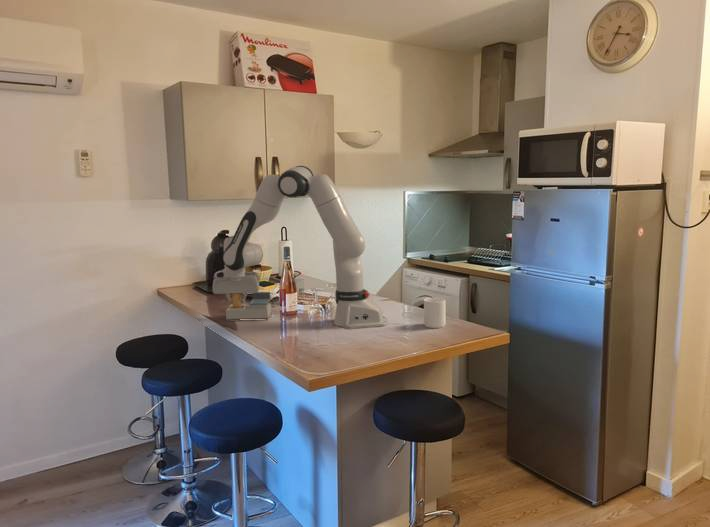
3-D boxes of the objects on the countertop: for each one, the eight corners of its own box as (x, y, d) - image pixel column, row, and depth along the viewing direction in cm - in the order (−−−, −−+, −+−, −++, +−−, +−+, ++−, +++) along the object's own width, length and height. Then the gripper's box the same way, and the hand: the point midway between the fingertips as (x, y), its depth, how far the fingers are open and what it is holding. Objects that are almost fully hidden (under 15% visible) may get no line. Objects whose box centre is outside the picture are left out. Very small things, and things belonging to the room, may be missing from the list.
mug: (453, 323, 222) (453, 297, 220) (438, 329, 212) (438, 303, 211) (435, 320, 227) (435, 295, 225) (419, 326, 218) (419, 300, 216)
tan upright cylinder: (242, 309, 242) (242, 292, 241) (241, 311, 238) (240, 294, 237) (234, 310, 242) (232, 292, 241) (232, 312, 238) (231, 294, 237)
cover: (270, 300, 251) (269, 291, 250) (267, 304, 241) (266, 296, 241) (253, 300, 251) (252, 292, 250) (249, 305, 241) (248, 296, 241)
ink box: (281, 304, 265) (280, 281, 263) (290, 301, 273) (288, 278, 271) (297, 305, 262) (296, 281, 260) (305, 302, 270) (304, 278, 268)
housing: (271, 314, 246) (270, 300, 245) (267, 320, 235) (267, 305, 234) (231, 315, 246) (230, 301, 245) (226, 321, 235) (225, 306, 234)
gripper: (260, 270, 241) (261, 301, 243) (214, 271, 240) (216, 302, 242) (257, 272, 234) (259, 304, 236) (210, 274, 234) (212, 305, 236)
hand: (237, 303), depth 239 cm, fingers closed on tan upright cylinder, 4 cm apart
